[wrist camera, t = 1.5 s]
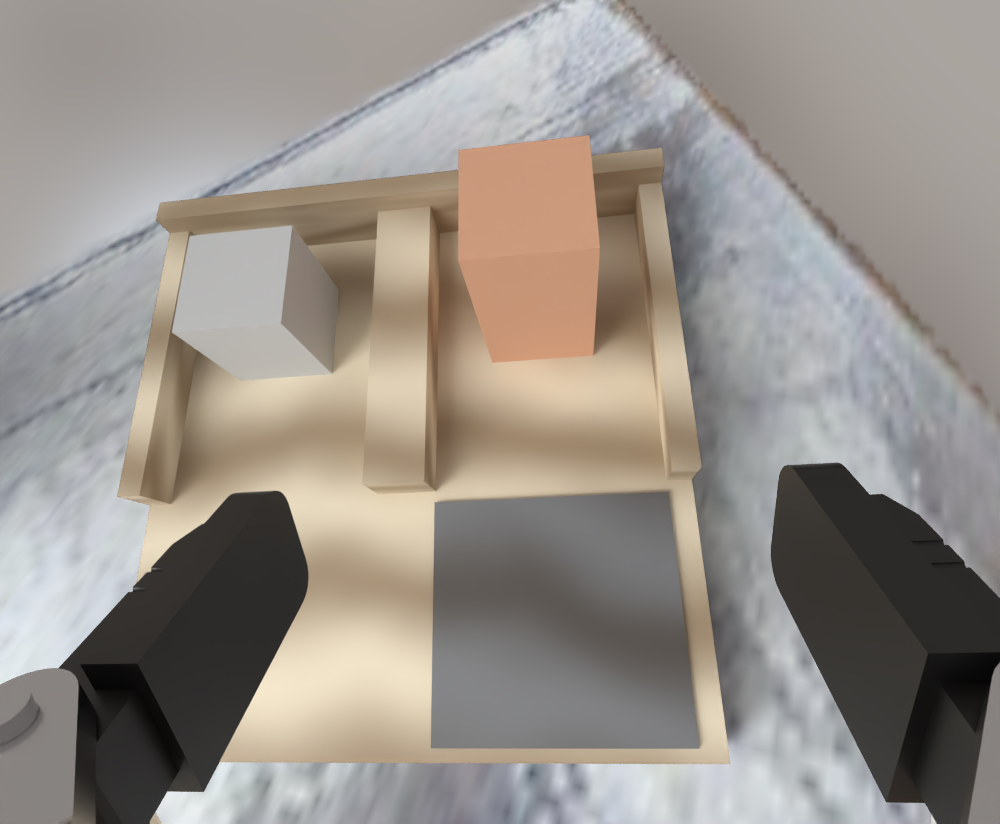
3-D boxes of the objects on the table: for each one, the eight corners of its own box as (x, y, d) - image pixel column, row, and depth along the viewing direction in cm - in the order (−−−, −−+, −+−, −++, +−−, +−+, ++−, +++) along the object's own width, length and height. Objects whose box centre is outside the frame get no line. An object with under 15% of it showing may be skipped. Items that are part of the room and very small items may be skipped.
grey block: (332, 374, 27) (280, 323, 22) (240, 380, 27) (171, 332, 23) (339, 289, 28) (292, 225, 24) (252, 297, 29) (189, 236, 24)
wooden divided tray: (717, 751, 22) (755, 788, 17) (140, 750, 24) (37, 782, 20) (648, 221, 30) (661, 147, 25) (219, 262, 32) (159, 202, 28)
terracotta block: (593, 355, 26) (599, 247, 18) (492, 362, 26) (458, 260, 19) (585, 268, 27) (589, 135, 20) (490, 276, 28) (458, 150, 20)
